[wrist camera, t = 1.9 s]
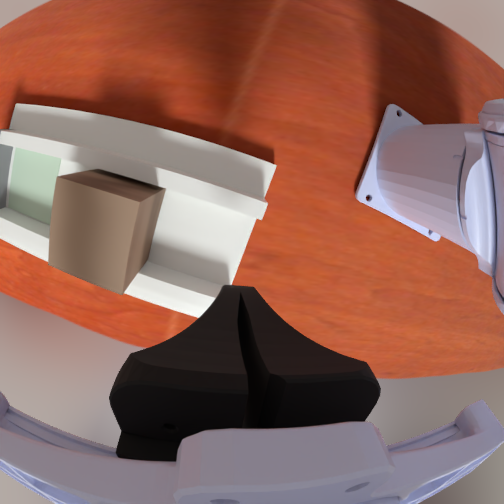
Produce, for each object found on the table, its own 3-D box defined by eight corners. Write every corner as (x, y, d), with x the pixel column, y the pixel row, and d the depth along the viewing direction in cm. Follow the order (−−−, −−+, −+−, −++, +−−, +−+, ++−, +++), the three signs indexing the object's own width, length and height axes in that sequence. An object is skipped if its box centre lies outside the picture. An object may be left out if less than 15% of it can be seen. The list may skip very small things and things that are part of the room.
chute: (274, 164, 17) (285, 167, 13) (217, 315, 21) (215, 348, 17) (22, 104, 13) (-8, 101, 10) (4, 233, 17) (-23, 248, 13)
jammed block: (166, 188, 16) (139, 202, 11) (148, 259, 17) (122, 295, 13) (99, 168, 15) (56, 176, 10) (86, 237, 17) (48, 264, 12)
